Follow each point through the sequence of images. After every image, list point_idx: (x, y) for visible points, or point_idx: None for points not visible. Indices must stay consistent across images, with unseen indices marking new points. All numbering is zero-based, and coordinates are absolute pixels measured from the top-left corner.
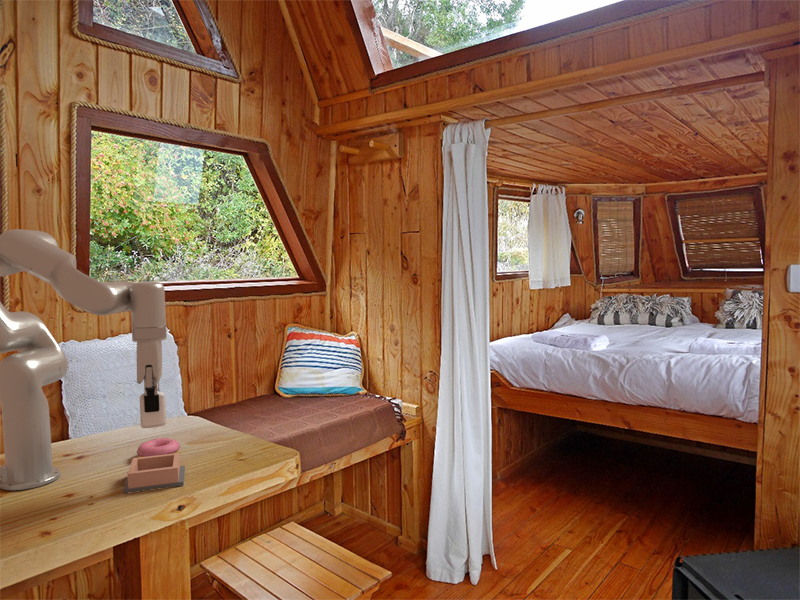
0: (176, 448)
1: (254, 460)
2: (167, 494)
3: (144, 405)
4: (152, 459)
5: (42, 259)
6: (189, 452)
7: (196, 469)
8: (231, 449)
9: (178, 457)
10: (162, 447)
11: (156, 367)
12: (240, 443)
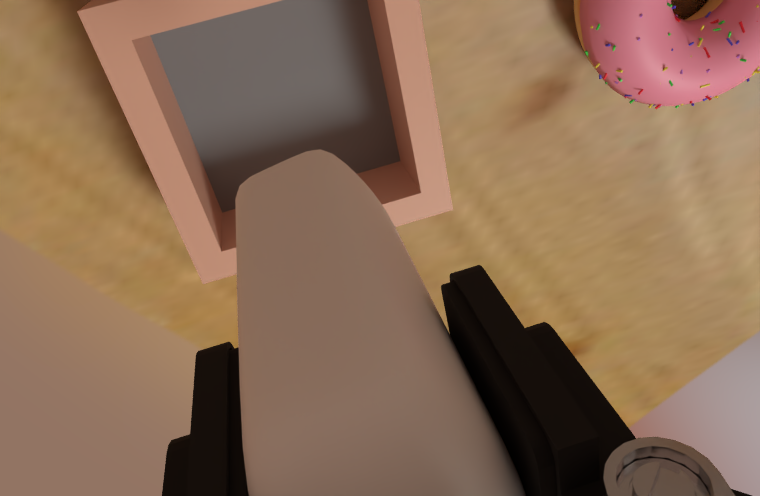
0: (648, 102)
1: None
2: (101, 215)
3: (192, 420)
4: (393, 69)
5: None
6: (667, 132)
7: (417, 240)
8: (633, 305)
9: None
10: (635, 41)
11: None
12: (695, 318)
